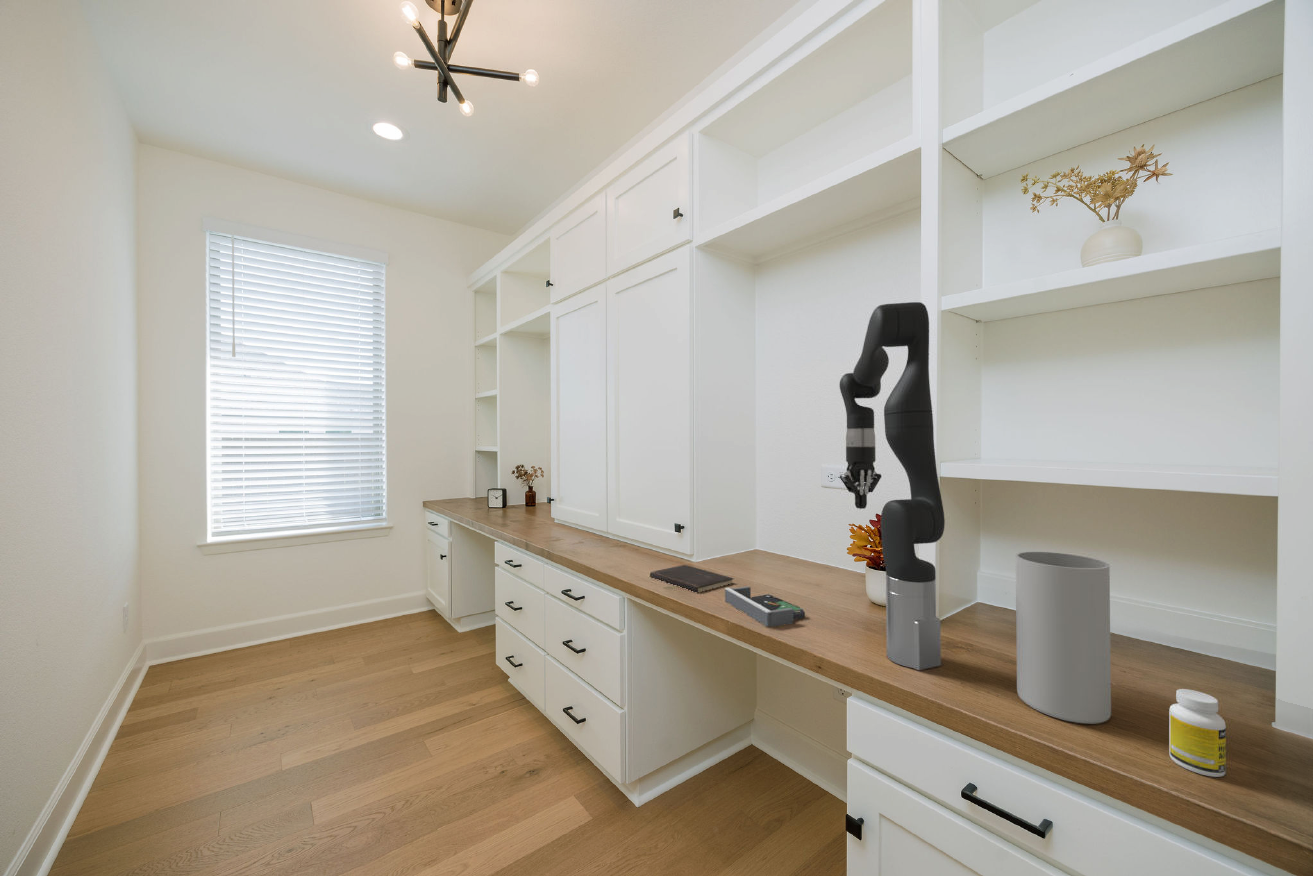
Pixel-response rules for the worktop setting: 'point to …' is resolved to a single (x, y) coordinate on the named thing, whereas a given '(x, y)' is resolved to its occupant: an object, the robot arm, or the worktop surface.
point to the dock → (757, 608)
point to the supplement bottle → (1197, 733)
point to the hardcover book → (691, 578)
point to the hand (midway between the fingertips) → (861, 508)
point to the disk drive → (778, 605)
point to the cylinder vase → (1064, 635)
